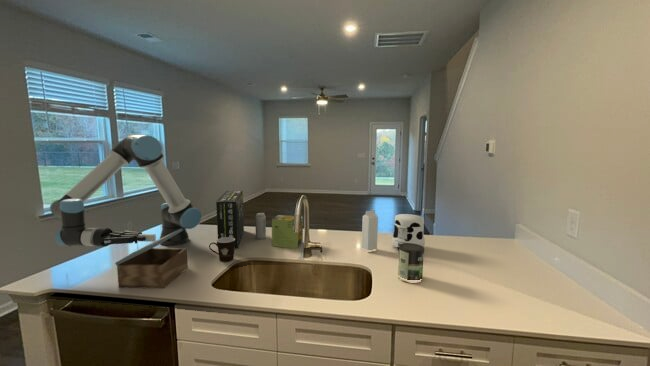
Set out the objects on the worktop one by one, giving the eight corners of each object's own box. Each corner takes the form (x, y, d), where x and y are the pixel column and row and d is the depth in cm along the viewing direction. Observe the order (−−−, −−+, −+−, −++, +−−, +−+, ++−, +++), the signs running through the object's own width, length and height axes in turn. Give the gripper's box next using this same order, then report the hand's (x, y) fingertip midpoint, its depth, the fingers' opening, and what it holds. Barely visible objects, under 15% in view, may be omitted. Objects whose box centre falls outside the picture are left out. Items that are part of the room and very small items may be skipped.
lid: (116, 265, 116) (114, 262, 116) (147, 247, 136) (146, 245, 136) (157, 245, 115) (156, 242, 115) (183, 230, 135) (181, 227, 135)
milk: (361, 249, 164) (362, 210, 161) (370, 248, 167) (371, 209, 164) (367, 253, 159) (368, 212, 156) (377, 251, 161) (378, 211, 159)
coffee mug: (239, 257, 150) (238, 238, 148) (228, 264, 142) (227, 243, 140) (219, 254, 153) (219, 235, 152) (208, 260, 145) (207, 240, 144)
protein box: (298, 248, 165) (298, 220, 163) (271, 246, 168) (271, 219, 166) (303, 242, 175) (303, 216, 173) (278, 240, 178) (278, 214, 176)
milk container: (419, 244, 175) (420, 213, 172) (428, 254, 157) (430, 221, 155) (389, 243, 175) (390, 213, 173) (395, 254, 158) (396, 220, 156)
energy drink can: (257, 236, 185) (256, 212, 183) (266, 236, 185) (266, 212, 183) (254, 239, 179) (254, 214, 177) (264, 239, 179) (264, 215, 177)
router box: (226, 231, 195) (225, 190, 191) (244, 230, 197) (243, 190, 193) (216, 250, 160) (215, 200, 157) (238, 249, 162) (237, 200, 159)
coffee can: (425, 276, 131) (427, 245, 129) (418, 286, 122) (420, 252, 120) (401, 271, 136) (403, 241, 134) (394, 279, 127) (395, 247, 126)
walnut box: (118, 287, 117) (116, 265, 116) (148, 266, 137) (147, 247, 136) (164, 288, 117) (163, 266, 116) (187, 267, 137) (187, 248, 136)
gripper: (110, 240, 132) (163, 241, 132) (86, 251, 119) (145, 252, 119) (108, 224, 131) (162, 224, 131) (84, 232, 118) (144, 233, 118)
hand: (154, 237), depth 125 cm, fingers closed
